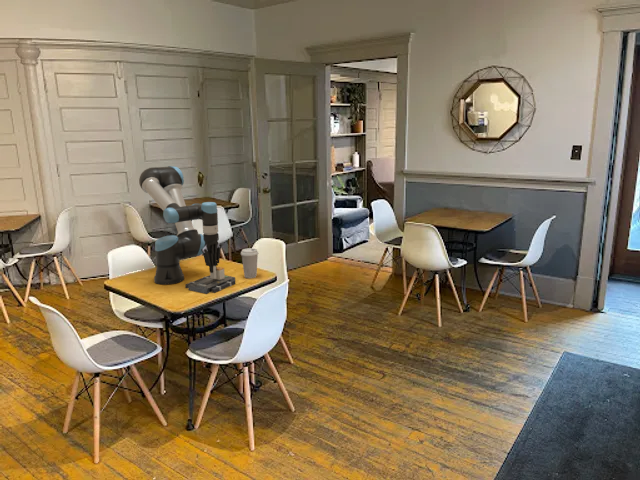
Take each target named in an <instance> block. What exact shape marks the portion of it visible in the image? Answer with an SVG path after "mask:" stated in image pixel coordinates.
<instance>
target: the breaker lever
mask: <svg viewBox="0 0 640 480" xmlns="http://www.w3.org/2000/svg"><path fill="white" fill-rule="evenodd" d="M216 269H217V270H216V278H215V279H218V280H221V279H224V278H225V267H222V266H216Z"/></svg>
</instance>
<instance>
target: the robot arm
mask: <svg viewBox="0 0 640 480" xmlns="http://www.w3.org/2000/svg"><path fill="white" fill-rule="evenodd" d="M184 179H185V177H184V174H183V172H182V170H181V169H180V168H179V167H177V166H174V165H173V166H172V165H169V166H158V167H157V166H155V167H149V168H145V169H144V170H143V171H142V172H141V173H140V175H139V178H138V183H139V186H140V188H141V189H142V191H143V192H144V193H145V194H148V195H149V196H150V198H152V200H153V201H154V202H155V203H156V204H157V205H158V206H159V208H160V209H161V210H162V211H163V212H162V213H163V219H164V221H165V222H166V223H167V224H175V227H176V230H177V234H176V235H173V234H171V235H166V236H165V235H164V236H162V237H159V238H158V239H156V240H155V242H154V250H155V251H154V253H155V261H156V270H155V275H154V278H153V279H154V281H153V282H154V283H155V284H157V285H162V286H163V285H173V284H175V285H176V284H179V283H181V282H183V281H184V280H185V275H184V273H183V270H182V267H181V265H180V263H181V262H180V260H183V259H188V258H189V259H190V258H195V257H199V256H202V255H203V259H204V263H205V266H206V267H209V271H208V272H209V275H210V278H213V279H215V278H216V270H217V269H216V267H219V263H220V259H221V248H222V244H220V243H219V239H220V236H219V233H218V232H219V224H218V223H219V222H218V220H219V218H218V204H217V203H216V202H214V201H206V202H202V203H193V204H191V205H186V202H185V197H184V196H183V193H182V190H183V189H182V188H183V185H184V183H185V180H184ZM195 220H196V221H197V220H201V221H202V233H203V234H202V233H199V231H198V229H196V228H195V227H194V225H193V221H195Z"/></svg>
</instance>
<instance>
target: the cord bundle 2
mask: <svg viewBox="0 0 640 480" xmlns="http://www.w3.org/2000/svg"><path fill="white" fill-rule="evenodd" d="M234 285H236V280H235V281H234V280H232V281H229V282H226V283H225V284H222V285H220V286H216V287H215V288H213V289H212V292H211V293H214V294H215V293H218V292H221V291H223V290H224V289H227V288H229V287H230V288H231V287H233V286H234Z"/></svg>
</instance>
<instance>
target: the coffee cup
mask: <svg viewBox="0 0 640 480" xmlns="http://www.w3.org/2000/svg"><path fill="white" fill-rule="evenodd" d="M240 255H241V261H242V266H243V267H242V269H243V274H244V278H245V279H254V278H257V277H256V276H258V275H257V272H258V258H259V257H258V256H259V251H258V249H257V248H253V247H252V248H251V247H249V248H243V249H241V251H240Z"/></svg>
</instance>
